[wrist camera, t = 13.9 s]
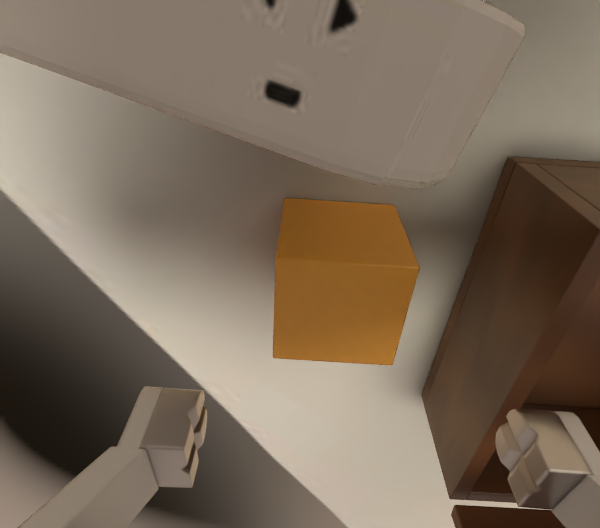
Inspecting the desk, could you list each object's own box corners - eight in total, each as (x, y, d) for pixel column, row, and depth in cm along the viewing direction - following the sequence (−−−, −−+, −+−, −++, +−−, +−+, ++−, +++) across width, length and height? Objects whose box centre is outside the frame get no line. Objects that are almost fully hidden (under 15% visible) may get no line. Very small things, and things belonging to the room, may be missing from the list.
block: (284, 197, 17) (275, 258, 13) (395, 204, 18) (420, 267, 13) (280, 285, 20) (272, 358, 16) (376, 291, 20) (392, 366, 16)
